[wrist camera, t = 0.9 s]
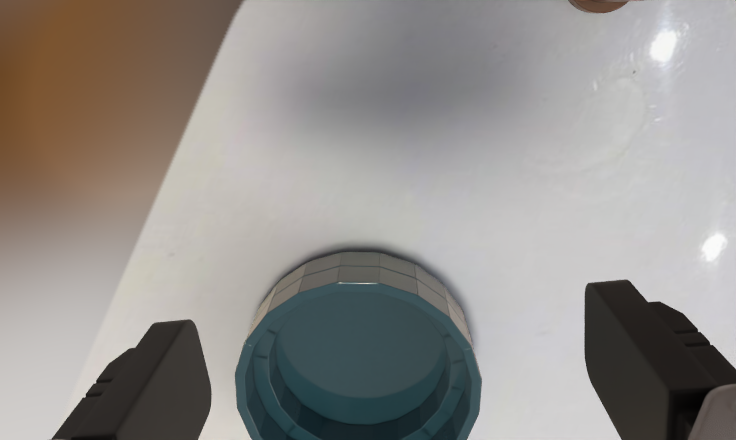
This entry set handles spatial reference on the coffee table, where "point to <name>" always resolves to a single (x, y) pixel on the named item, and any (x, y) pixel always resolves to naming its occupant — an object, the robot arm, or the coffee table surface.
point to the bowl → (358, 356)
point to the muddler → (599, 5)
